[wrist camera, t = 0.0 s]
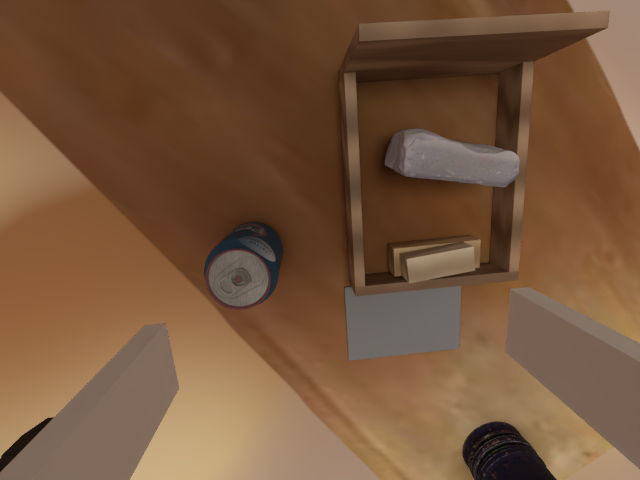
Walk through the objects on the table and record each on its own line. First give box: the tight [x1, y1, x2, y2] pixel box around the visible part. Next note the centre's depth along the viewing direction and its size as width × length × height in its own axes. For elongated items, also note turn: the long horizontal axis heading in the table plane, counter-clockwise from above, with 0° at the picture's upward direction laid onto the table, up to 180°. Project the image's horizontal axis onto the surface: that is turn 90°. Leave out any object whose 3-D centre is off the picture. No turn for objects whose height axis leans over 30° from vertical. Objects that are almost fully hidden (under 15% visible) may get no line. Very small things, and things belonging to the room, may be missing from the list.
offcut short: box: [400, 242, 475, 283], centre depth 37 cm, size 3×8×2 cm, turn 100°
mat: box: [344, 286, 461, 361], centre depth 43 cm, size 11×16×1 cm
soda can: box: [204, 222, 283, 310], centre depth 33 cm, size 7×7×12 cm
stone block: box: [385, 129, 520, 187], centre depth 33 cm, size 12×5×10 cm, turn 82°
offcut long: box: [388, 235, 481, 276], centre depth 40 cm, size 4×11×3 cm, turn 95°
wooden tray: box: [338, 11, 610, 296], centre depth 33 cm, size 26×20×12 cm
